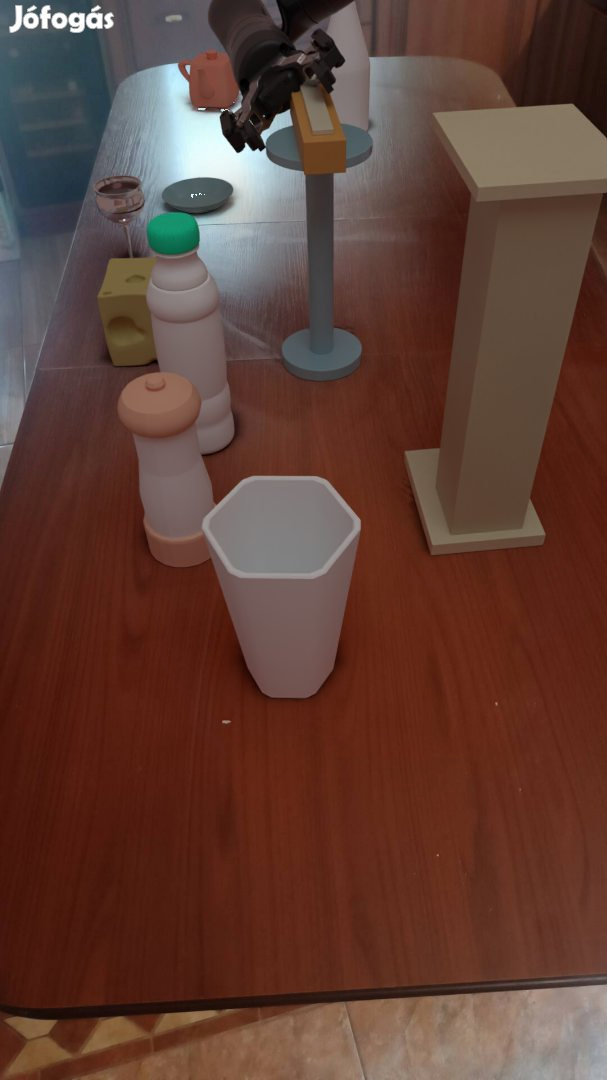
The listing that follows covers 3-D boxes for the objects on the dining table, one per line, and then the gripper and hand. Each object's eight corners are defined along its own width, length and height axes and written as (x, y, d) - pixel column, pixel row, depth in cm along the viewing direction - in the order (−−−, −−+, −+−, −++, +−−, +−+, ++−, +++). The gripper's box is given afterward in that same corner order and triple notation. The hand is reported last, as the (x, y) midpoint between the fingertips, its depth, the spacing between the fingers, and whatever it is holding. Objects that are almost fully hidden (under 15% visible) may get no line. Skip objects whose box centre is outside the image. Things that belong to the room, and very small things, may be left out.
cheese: (193, 366, 100) (182, 293, 93) (107, 369, 100) (90, 296, 93) (200, 322, 107) (190, 251, 100) (120, 325, 108) (105, 254, 100)
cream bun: (290, 113, 88) (288, 78, 85) (326, 111, 88) (326, 76, 85) (304, 175, 76) (303, 136, 73) (346, 172, 76) (346, 133, 74)
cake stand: (358, 331, 105) (364, 118, 86) (371, 379, 97) (381, 157, 78) (274, 338, 104) (262, 125, 86) (281, 387, 97) (269, 165, 78)
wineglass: (100, 267, 119) (82, 185, 110) (137, 251, 122) (122, 170, 114) (128, 282, 116) (111, 199, 107) (165, 265, 119) (152, 183, 110)
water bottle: (190, 413, 93) (155, 199, 76) (245, 425, 92) (223, 209, 74) (161, 449, 89) (117, 231, 71) (218, 463, 87) (188, 242, 69)
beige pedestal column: (403, 461, 86) (432, 112, 61) (503, 452, 87) (572, 103, 62) (430, 555, 77) (478, 187, 52) (543, 545, 77) (644, 175, 52)
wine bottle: (308, 133, 154) (304, -58, 133) (343, 120, 159) (345, -67, 137) (343, 146, 149) (344, -51, 128) (378, 132, 154) (386, -60, 132)
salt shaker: (237, 540, 79) (217, 376, 65) (179, 579, 76) (144, 416, 62) (191, 504, 83) (162, 343, 69) (134, 541, 79) (91, 378, 65)
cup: (355, 618, 72) (360, 475, 59) (356, 717, 65) (361, 578, 52) (231, 617, 72) (210, 474, 60) (219, 715, 65) (192, 576, 53)
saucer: (160, 222, 129) (158, 208, 127) (166, 191, 137) (164, 178, 136) (233, 219, 129) (232, 204, 128) (235, 188, 137) (234, 175, 136)
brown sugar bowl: (177, 101, 170) (170, 46, 162) (229, 91, 173) (224, 37, 166) (203, 121, 161) (196, 65, 153) (256, 110, 164) (253, 55, 157)
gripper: (196, 81, 90) (211, 130, 79) (297, -10, 86) (328, 27, 75) (238, 137, 95) (258, 189, 84) (335, 52, 91) (370, 96, 79)
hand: (291, 113), depth 79 cm, fingers open, 8 cm apart
